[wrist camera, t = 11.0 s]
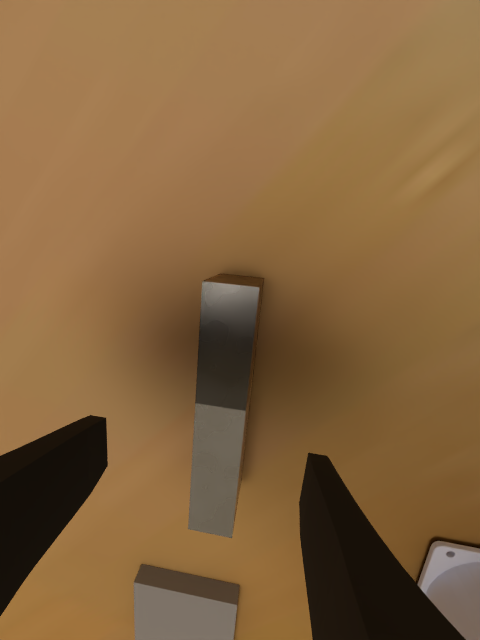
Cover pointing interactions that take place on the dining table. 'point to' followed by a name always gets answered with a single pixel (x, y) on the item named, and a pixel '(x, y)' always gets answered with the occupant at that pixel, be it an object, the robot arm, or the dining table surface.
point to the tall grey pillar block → (223, 398)
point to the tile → (183, 606)
